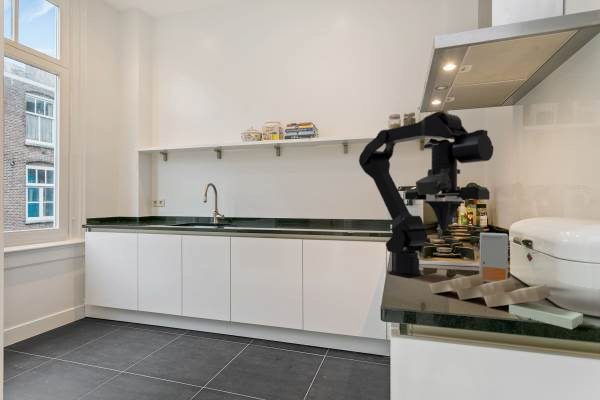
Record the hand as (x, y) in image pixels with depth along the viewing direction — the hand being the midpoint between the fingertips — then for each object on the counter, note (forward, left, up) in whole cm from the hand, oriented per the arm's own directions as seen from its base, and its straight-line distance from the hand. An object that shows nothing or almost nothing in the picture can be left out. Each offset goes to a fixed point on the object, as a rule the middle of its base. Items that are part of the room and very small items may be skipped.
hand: (443, 230), depth 79 cm
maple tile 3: (+14, -7, -12) cm, 20 cm away
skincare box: (+5, +13, -13) cm, 19 cm away
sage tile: (+18, -7, -12) cm, 23 cm away
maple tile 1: (+3, -7, -12) cm, 15 cm away
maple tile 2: (+9, -7, -12) cm, 17 cm away
